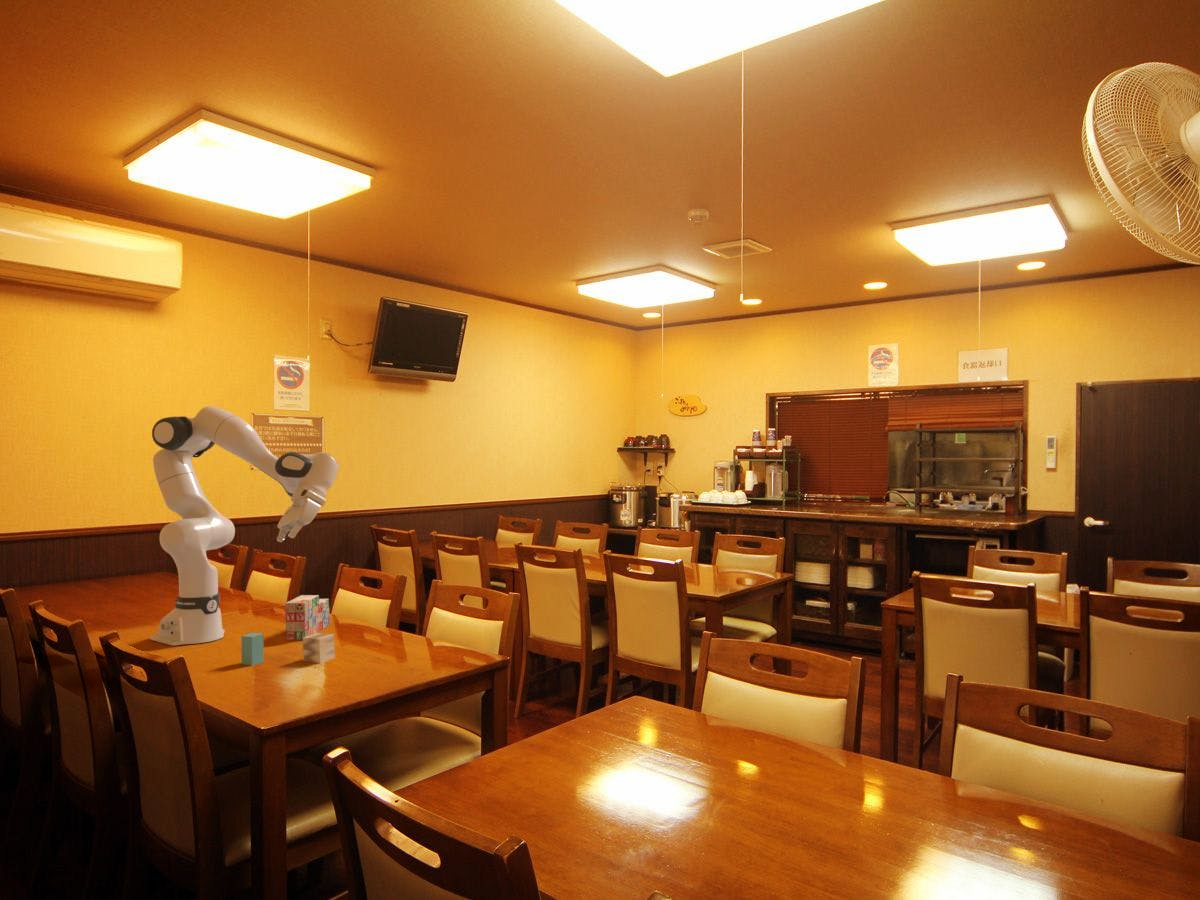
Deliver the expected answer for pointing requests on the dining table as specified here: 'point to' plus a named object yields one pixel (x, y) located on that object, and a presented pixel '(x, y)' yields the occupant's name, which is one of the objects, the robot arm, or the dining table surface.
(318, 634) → the tower top
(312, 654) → the tower base
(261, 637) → the pillar
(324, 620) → the multicoloured boxy piece
